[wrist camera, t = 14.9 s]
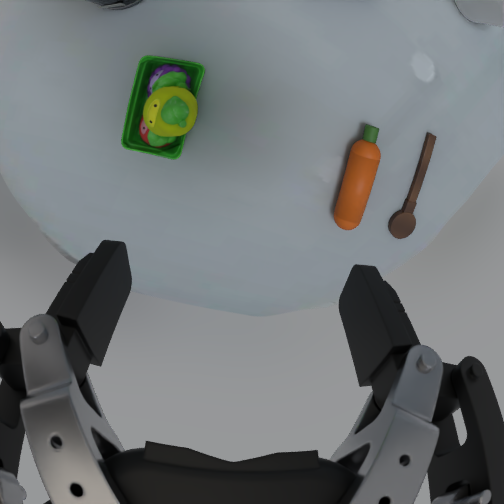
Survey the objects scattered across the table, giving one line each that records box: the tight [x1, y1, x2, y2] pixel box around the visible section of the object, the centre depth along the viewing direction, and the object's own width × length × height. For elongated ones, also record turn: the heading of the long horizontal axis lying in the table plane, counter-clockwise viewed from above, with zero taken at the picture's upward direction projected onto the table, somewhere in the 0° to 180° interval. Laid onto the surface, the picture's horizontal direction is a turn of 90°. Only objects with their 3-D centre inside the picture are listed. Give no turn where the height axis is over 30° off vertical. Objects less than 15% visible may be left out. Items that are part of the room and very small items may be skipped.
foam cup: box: [454, 0, 504, 27], centre depth 11 cm, size 10×9×13 cm
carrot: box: [334, 124, 381, 230], centre depth 33 cm, size 15×4×4 cm, turn 172°
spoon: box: [388, 133, 436, 239], centre depth 35 cm, size 18×5×1 cm, turn 173°
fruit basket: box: [121, 56, 205, 160], centre depth 25 cm, size 11×9×11 cm
